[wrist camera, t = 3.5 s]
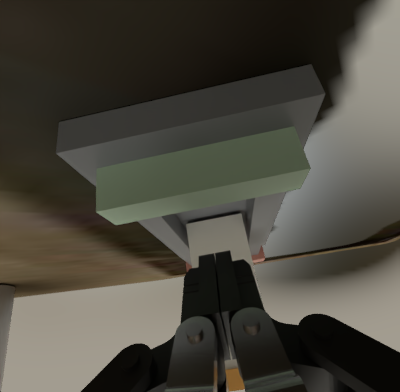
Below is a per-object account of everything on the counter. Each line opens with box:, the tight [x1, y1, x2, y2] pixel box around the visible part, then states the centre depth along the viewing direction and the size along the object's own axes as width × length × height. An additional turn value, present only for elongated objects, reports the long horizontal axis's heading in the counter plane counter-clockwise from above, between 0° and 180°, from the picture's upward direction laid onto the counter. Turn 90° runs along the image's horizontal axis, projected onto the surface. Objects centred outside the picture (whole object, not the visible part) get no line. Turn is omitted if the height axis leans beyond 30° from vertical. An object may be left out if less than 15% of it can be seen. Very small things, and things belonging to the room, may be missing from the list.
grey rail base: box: [56, 64, 325, 272], centre depth 20 cm, size 24×10×4 cm, turn 9°
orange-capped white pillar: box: [186, 213, 263, 391], centre depth 18 cm, size 4×4×10 cm
